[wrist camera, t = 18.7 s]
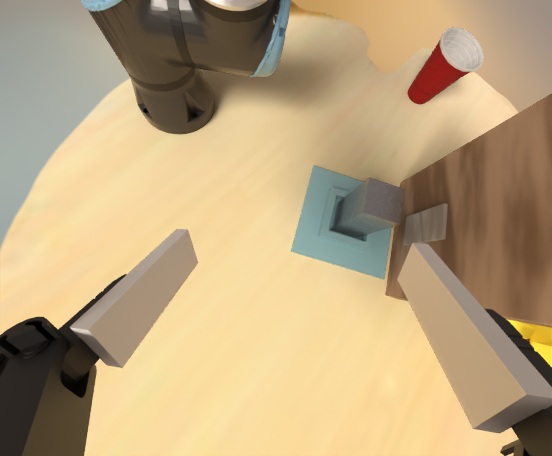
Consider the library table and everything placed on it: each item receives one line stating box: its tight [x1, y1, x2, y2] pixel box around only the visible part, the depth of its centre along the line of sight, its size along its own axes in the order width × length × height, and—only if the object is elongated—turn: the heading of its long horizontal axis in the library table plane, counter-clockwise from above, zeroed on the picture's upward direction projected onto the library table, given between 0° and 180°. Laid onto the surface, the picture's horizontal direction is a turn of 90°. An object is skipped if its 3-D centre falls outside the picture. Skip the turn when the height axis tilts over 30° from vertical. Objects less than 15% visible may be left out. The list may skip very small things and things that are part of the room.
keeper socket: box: [291, 166, 391, 279], centre depth 41 cm, size 20×20×2 cm
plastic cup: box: [408, 27, 484, 104], centre depth 47 cm, size 11×11×12 cm
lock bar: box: [332, 178, 405, 237], centre depth 36 cm, size 6×6×12 cm
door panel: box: [386, 94, 552, 328], centre depth 30 cm, size 4×26×26 cm, turn 164°
